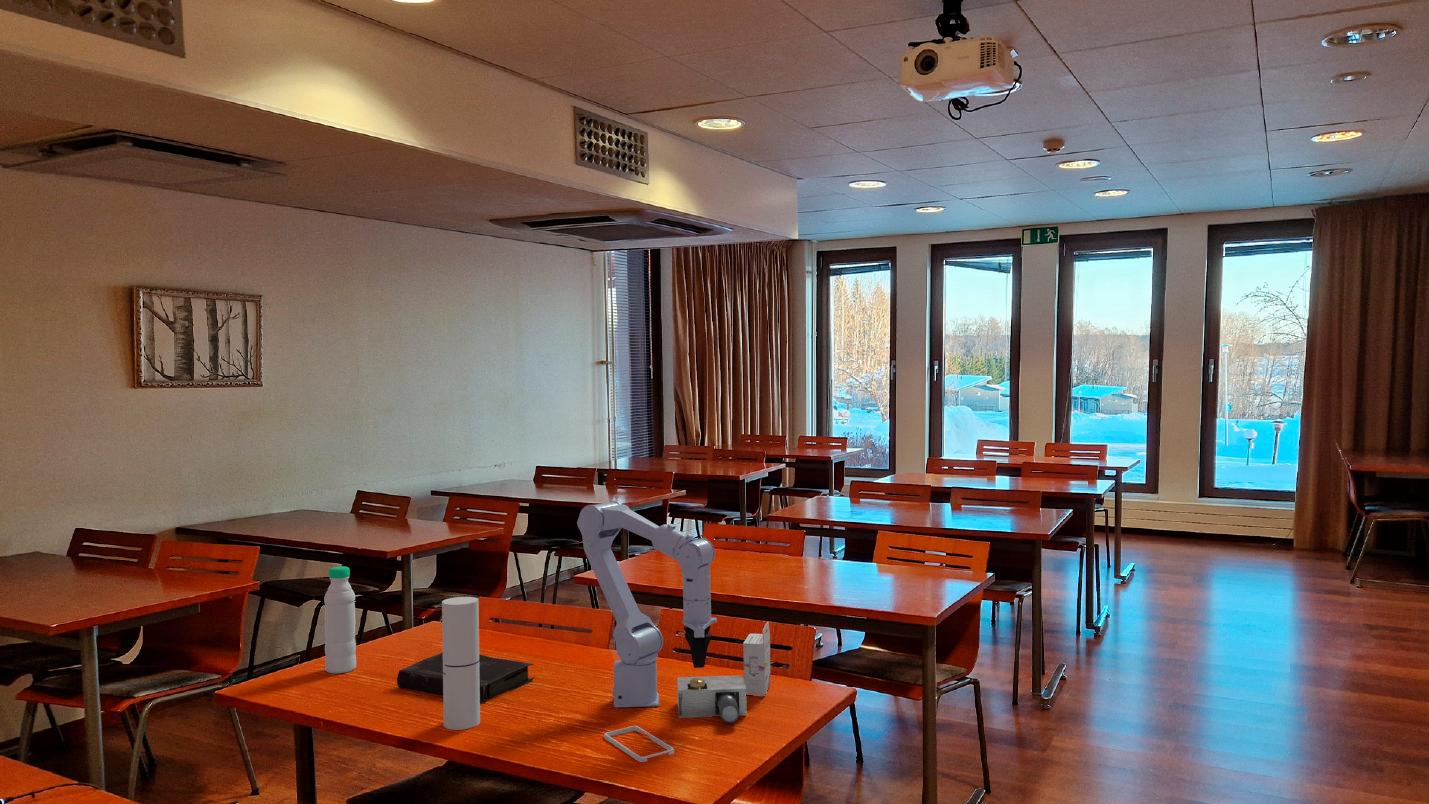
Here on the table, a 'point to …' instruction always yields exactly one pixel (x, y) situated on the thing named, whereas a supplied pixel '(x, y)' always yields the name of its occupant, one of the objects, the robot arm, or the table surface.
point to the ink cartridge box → (757, 662)
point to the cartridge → (727, 706)
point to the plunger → (697, 684)
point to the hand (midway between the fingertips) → (698, 663)
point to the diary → (492, 676)
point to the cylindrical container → (461, 662)
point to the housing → (709, 695)
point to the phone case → (631, 753)
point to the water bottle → (340, 623)
